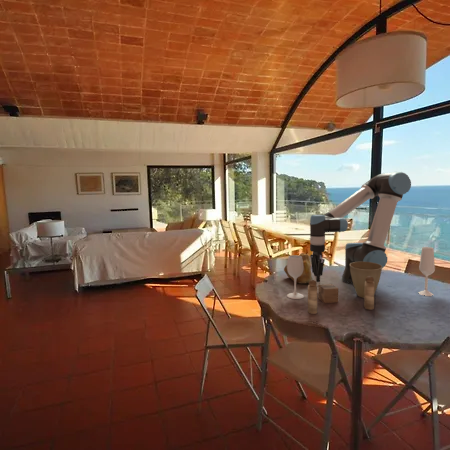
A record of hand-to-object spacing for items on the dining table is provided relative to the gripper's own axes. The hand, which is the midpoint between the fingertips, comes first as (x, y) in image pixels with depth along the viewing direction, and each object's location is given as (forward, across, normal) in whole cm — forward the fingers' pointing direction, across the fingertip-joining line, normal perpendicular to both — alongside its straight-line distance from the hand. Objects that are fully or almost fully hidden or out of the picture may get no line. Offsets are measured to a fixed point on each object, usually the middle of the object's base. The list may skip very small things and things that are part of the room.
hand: (317, 287), depth 161 cm
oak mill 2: (+3, +26, +14) cm, 29 cm away
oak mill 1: (+3, +26, -13) cm, 29 cm away
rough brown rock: (+3, -24, -2) cm, 24 cm away
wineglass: (+3, +5, -14) cm, 15 cm away
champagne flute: (+3, +14, +52) cm, 54 cm away
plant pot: (+3, +11, +21) cm, 24 cm away
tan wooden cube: (+3, +13, 0) cm, 13 cm away
